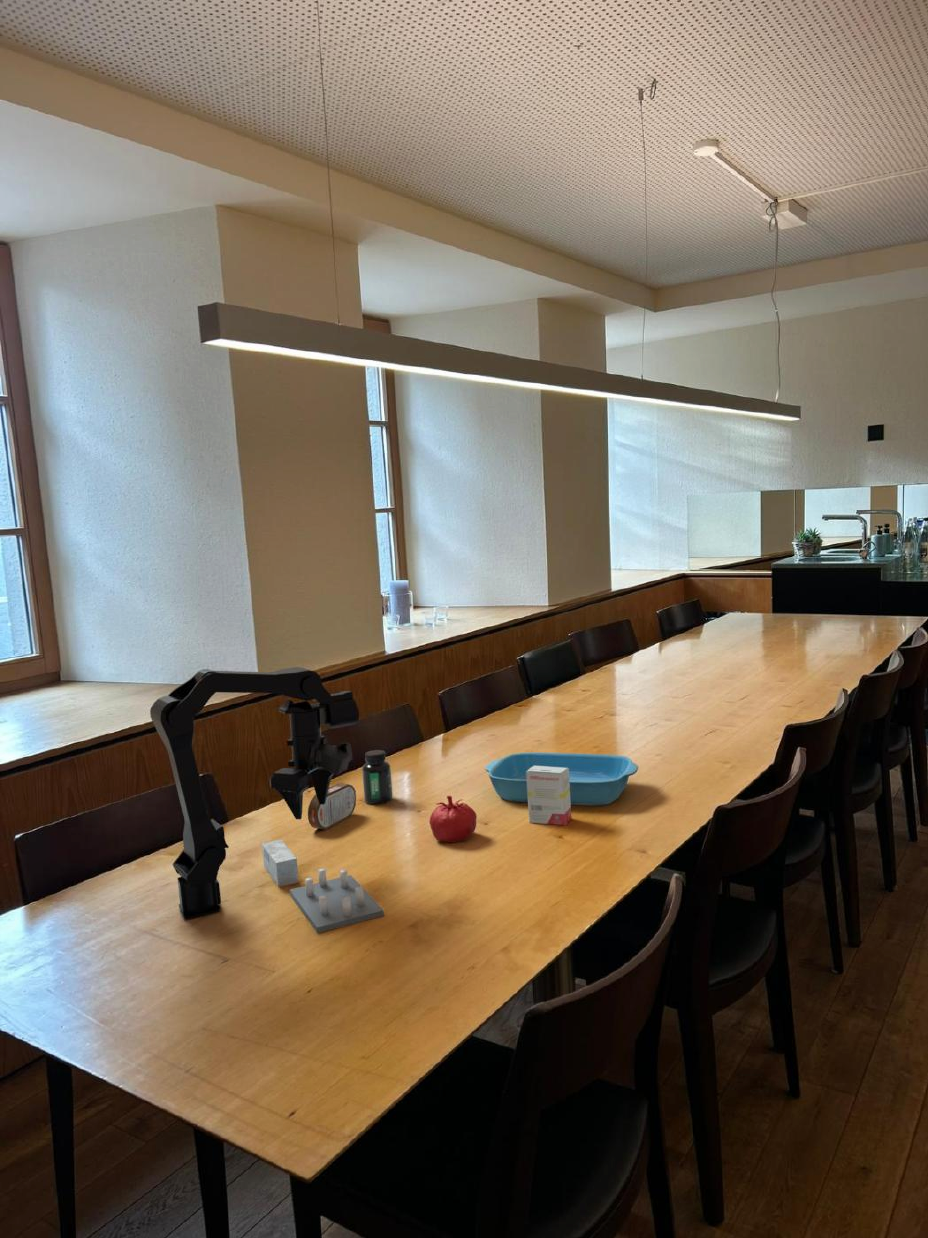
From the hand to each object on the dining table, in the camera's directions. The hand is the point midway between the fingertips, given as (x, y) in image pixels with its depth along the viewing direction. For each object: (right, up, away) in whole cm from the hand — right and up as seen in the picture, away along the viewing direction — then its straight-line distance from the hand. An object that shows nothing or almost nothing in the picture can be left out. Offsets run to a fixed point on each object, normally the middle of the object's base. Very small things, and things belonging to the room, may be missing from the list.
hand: (310, 811), depth 178 cm
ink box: (+49, -7, +23) cm, 55 cm away
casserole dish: (+53, -5, +42) cm, 68 cm away
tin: (0, -9, +31) cm, 32 cm away
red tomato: (+28, -9, +17) cm, 34 cm away
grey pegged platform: (+7, -14, -13) cm, 20 cm away
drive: (-6, -13, +3) cm, 15 cm away
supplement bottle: (+9, -7, +45) cm, 46 cm away
